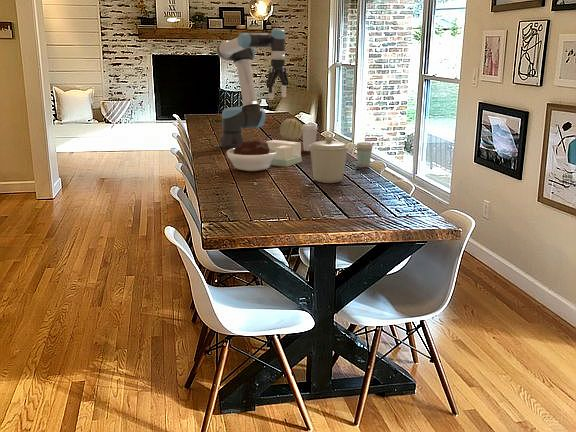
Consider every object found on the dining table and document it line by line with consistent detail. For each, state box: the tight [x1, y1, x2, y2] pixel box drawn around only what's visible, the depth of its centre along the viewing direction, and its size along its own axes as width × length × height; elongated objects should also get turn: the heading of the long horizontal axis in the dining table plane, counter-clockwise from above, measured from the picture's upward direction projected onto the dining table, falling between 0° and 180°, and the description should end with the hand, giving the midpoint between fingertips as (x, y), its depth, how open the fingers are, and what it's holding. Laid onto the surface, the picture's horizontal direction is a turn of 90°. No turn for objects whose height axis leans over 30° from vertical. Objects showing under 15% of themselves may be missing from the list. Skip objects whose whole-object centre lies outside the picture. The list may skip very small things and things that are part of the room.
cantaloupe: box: [279, 117, 303, 142], centre depth 400 cm, size 15×15×15 cm
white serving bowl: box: [226, 139, 277, 172], centre depth 311 cm, size 25×25×15 cm
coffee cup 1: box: [301, 123, 319, 152], centre depth 368 cm, size 10×10×15 cm
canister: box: [309, 135, 349, 184], centre depth 287 cm, size 18×18×21 cm
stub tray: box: [270, 155, 303, 168], centre depth 331 cm, size 13×16×3 cm
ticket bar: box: [265, 139, 302, 156], centre depth 349 cm, size 18×8×8 cm, turn 60°
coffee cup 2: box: [355, 142, 374, 168], centre depth 322 cm, size 8×8×12 cm
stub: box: [275, 145, 293, 160], centre depth 330 cm, size 6×8×8 cm
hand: (277, 98), depth 351 cm, fingers open, 13 cm apart
